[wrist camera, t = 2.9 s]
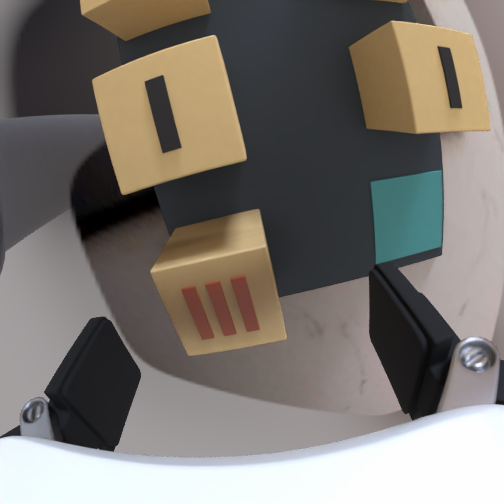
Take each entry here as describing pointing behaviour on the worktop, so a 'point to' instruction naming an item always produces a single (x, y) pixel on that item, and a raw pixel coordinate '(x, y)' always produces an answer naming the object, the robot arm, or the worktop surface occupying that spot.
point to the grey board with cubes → (291, 123)
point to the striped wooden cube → (220, 284)
